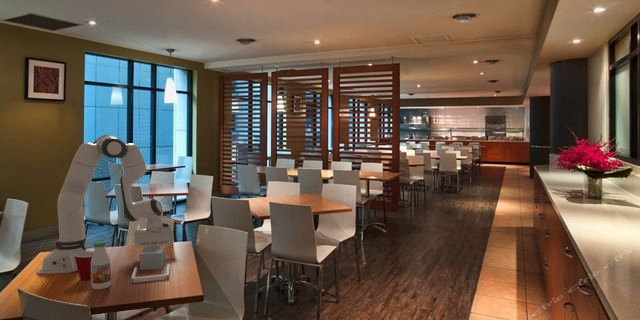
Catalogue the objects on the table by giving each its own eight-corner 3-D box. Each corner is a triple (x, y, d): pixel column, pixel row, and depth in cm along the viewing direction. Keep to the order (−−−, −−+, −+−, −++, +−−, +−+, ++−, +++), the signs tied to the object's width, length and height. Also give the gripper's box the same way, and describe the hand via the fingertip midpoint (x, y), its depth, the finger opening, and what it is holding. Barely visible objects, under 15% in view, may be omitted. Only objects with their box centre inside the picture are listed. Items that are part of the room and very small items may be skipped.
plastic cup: (105, 277, 209) (104, 251, 208) (82, 283, 200) (81, 257, 199) (92, 273, 215) (91, 248, 214) (69, 279, 206) (68, 254, 205)
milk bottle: (87, 288, 194) (85, 243, 193) (101, 283, 201) (100, 239, 200) (101, 291, 191) (99, 245, 190) (115, 285, 198) (113, 240, 197)
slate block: (140, 270, 220) (139, 254, 219) (145, 261, 233) (145, 246, 233) (161, 269, 221) (160, 253, 221) (165, 260, 235) (165, 245, 235)
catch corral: (131, 282, 201) (131, 278, 201) (134, 271, 217) (134, 267, 217) (168, 279, 206) (168, 274, 206) (169, 268, 222) (169, 264, 222)
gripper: (133, 226, 241) (132, 249, 232) (173, 224, 247) (173, 246, 239) (134, 233, 246) (133, 255, 237) (173, 230, 252) (174, 251, 243)
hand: (154, 250), depth 238 cm, fingers closed
